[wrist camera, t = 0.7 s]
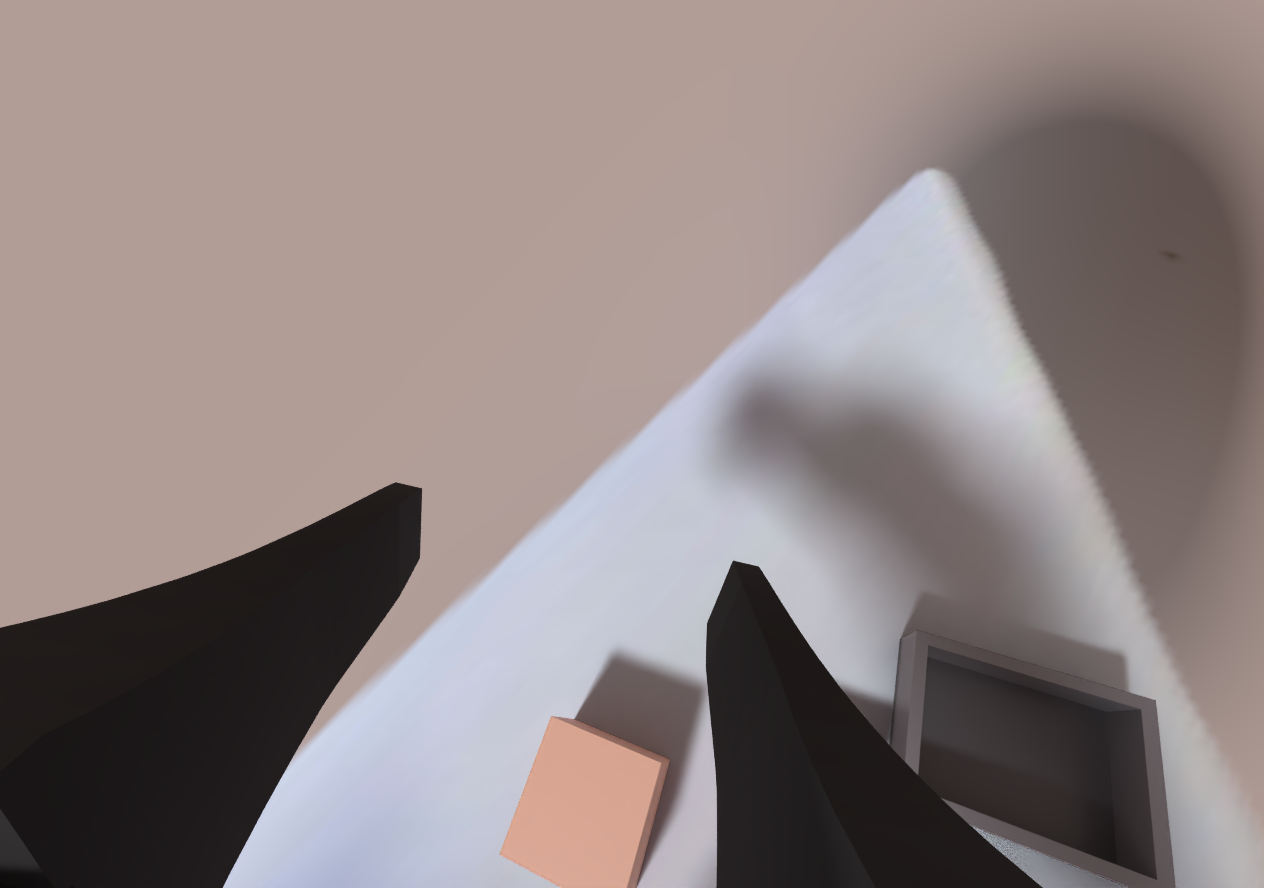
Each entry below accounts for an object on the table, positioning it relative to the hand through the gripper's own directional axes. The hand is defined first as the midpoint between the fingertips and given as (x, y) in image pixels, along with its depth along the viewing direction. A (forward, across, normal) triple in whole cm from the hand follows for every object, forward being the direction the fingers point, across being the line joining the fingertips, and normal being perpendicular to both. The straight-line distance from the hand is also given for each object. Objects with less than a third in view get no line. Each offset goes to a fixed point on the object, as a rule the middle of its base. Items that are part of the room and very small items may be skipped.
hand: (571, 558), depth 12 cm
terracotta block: (+4, -4, +17) cm, 18 cm away
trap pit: (+6, -20, +10) cm, 23 cm away
